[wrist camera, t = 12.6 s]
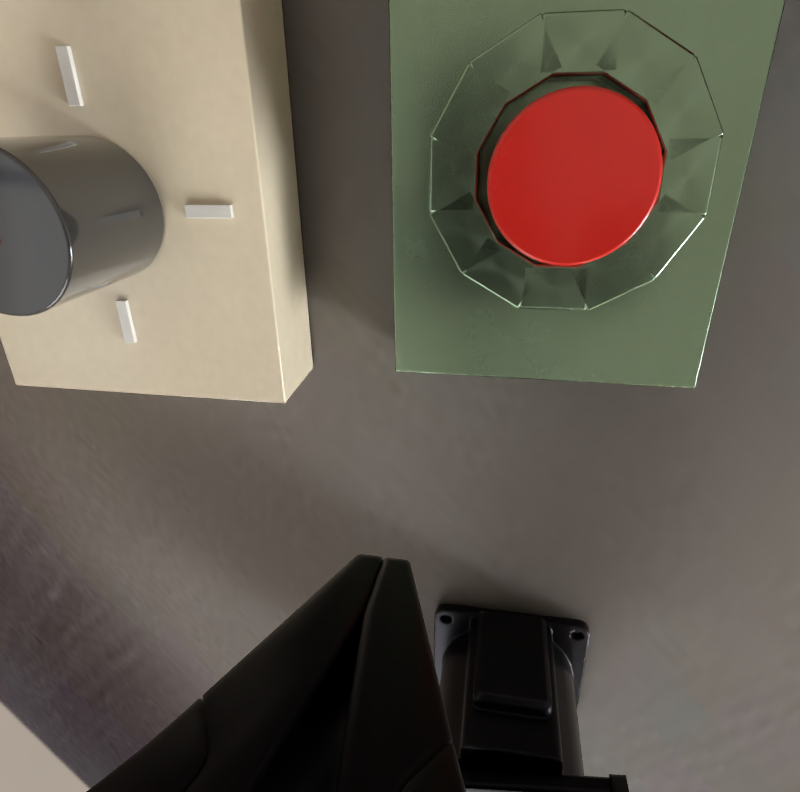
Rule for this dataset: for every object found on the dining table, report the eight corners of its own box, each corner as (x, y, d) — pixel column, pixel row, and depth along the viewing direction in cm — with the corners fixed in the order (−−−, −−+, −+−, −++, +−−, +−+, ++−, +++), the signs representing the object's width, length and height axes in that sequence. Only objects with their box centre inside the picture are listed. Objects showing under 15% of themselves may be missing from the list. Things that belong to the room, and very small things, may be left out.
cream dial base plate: (313, 368, 21) (283, 405, 18) (73, 354, 23) (12, 387, 20) (279, -27, 16) (230, -58, 13) (-29, -9, 17) (-132, -33, 15)
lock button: (631, 252, 14) (647, 268, 13) (485, 249, 15) (482, 264, 13) (658, 87, 12) (679, 82, 11) (493, 91, 13) (491, 87, 12)
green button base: (676, 360, 19) (715, 417, 15) (406, 347, 20) (384, 396, 17) (775, -108, 13) (871, -191, 10) (402, -81, 15) (369, -145, 11)
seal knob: (148, 132, 15) (29, 135, 12) (177, 278, 17) (82, 323, 13) (19, 136, 16) (-133, 140, 12) (60, 276, 18) (-63, 318, 14)
